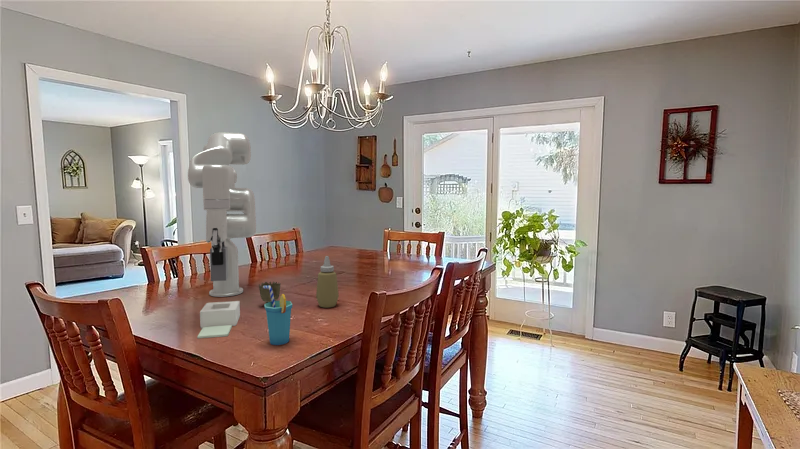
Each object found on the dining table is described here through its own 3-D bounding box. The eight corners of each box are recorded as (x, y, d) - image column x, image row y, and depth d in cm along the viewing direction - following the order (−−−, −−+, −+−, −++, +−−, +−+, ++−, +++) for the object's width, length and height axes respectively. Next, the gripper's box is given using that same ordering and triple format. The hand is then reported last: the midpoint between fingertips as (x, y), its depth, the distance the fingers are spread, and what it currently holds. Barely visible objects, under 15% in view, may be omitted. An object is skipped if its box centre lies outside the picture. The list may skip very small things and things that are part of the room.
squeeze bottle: (311, 305, 149) (310, 256, 147) (329, 301, 155) (329, 253, 153) (325, 310, 144) (324, 259, 142) (343, 305, 150) (343, 256, 148)
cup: (252, 337, 118) (250, 285, 116) (277, 331, 123) (276, 281, 122) (277, 351, 108) (276, 295, 106) (303, 343, 113) (302, 289, 112)
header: (207, 317, 135) (206, 302, 135) (240, 315, 137) (239, 300, 137) (200, 328, 125) (199, 312, 125) (235, 325, 128) (235, 309, 127)
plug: (213, 277, 132) (212, 246, 131) (228, 277, 133) (227, 246, 132) (210, 281, 128) (210, 249, 127) (226, 280, 129) (225, 248, 128)
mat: (203, 329, 125) (203, 327, 125) (231, 326, 127) (231, 325, 126) (197, 338, 117) (197, 336, 117) (227, 336, 119) (227, 334, 119)
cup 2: (274, 309, 145) (274, 286, 144) (255, 307, 146) (254, 285, 146) (284, 303, 152) (284, 281, 151) (266, 302, 154) (265, 280, 153)
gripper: (208, 203, 135) (211, 258, 137) (198, 206, 119) (200, 269, 121) (233, 203, 137) (235, 258, 139) (226, 206, 121) (228, 268, 123)
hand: (219, 262), depth 130 cm, fingers closed on plug, 4 cm apart
